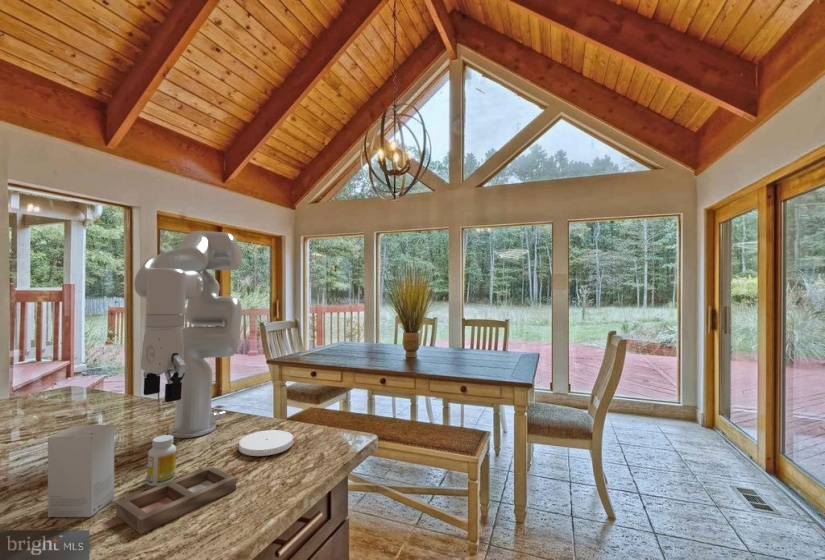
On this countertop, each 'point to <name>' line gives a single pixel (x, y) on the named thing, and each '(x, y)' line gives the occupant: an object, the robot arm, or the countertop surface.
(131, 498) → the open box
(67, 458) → the skincare box
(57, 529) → the countertop surface
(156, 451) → the supplement bottle
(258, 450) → the plastic lid
